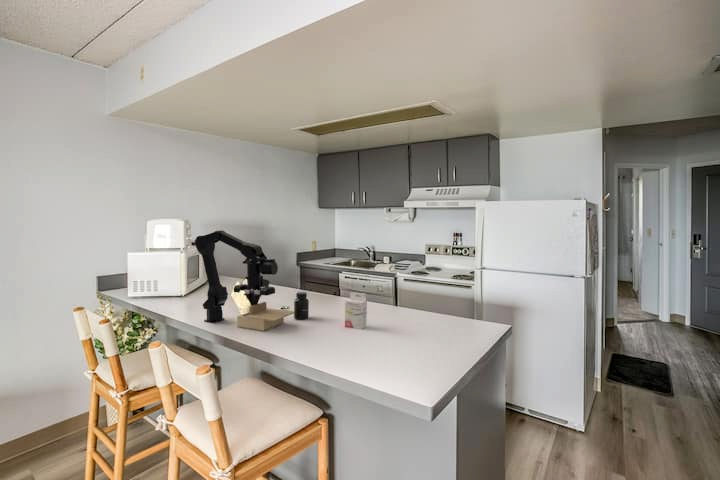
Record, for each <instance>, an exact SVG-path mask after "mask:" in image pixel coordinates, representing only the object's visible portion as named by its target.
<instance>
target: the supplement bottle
mask: <svg viewBox="0 0 720 480" xmlns="http://www.w3.org/2000/svg"><path fill="white" fill-rule="evenodd" d="M295 295H296V296H295V297H296V298H295V299H294V300H293V312H294V313H293V319H295V320H299V321H304V320H307V319H309V313H310V312H309V310H310V309H309V307H310V306H309V305H310V302H309V301H310V300H309V298H307V297H308V295H307V292H304V291H299V292H296V294H295Z"/></svg>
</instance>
